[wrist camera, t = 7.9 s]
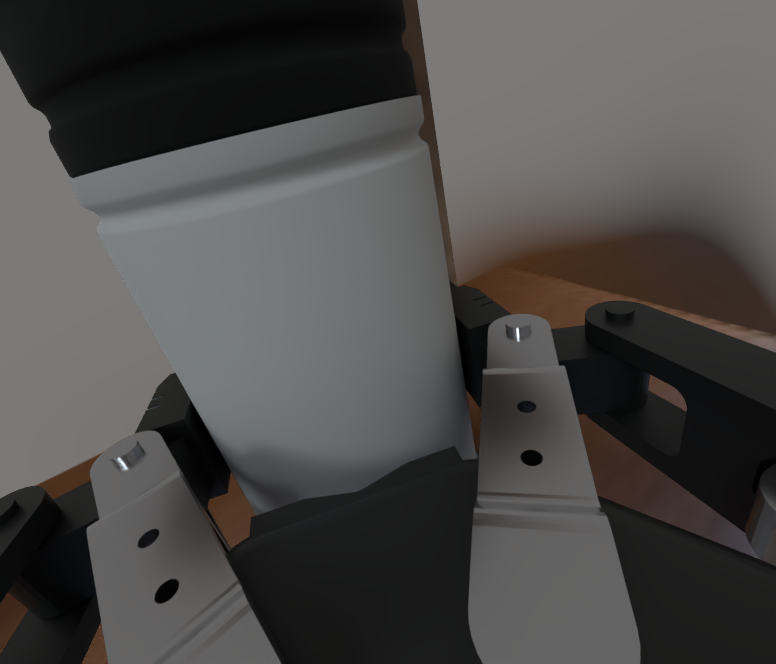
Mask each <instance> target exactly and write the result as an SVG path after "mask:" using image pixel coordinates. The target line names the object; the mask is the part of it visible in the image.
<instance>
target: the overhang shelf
mask: <svg viewBox="0 0 776 664" xmlns="http://www.w3.org/2000/svg"><path fill="white" fill-rule="evenodd" d="M403 5H404V12H405V18H406V29H405V31H404V33H403V35H402V42H403V48H404V50H405V51H408V52H409V55H410V57H411V59H412V63H413V69H414V76H415V82H416V88H417V95H420V96H421V100H422V107H423V113H424V122H423V124H422V126H421V127H420V129H419V134H418V135H419V137H420V138H421V140H423V141H425V142H426V143H427V144H428V146H429V152H430V159H431V165H432V172H433V178H434V185H435V191H436V198H437V204H438V211H439V217H440V224H441V230H442V237H443V243H444V250H445V256H446V263H447V270H448V276H449V280H450V281H451V282H452V283H453V284H455V285H456V286H457V281H456V274H455V266H454V259H453V252H452V246H451V239H450V231H449V224H448V217H447V210H446V203H445V196H444V188H443V182H442V174H441V167H440V160H439V153H438V146H437V139H436V132H435V125H434V117H433V110H432V103H431V97H430V89H429V82H428V75H427V67H426V61H425V53H424V47H423V39H422V32H421V25H420V19H419V11H418V4H417V0H403ZM417 95H416V96H417Z"/></svg>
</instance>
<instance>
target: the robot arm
mask: <svg viewBox="0 0 776 664" xmlns="http://www.w3.org/2000/svg"><path fill="white" fill-rule="evenodd" d="M449 283H450V289H451V296H452V302H453V309H454V315H455V322H456V328H457V335H458V341H459V348H460V354H461V361H462V367H463V374H464V380H465V387H466V390H467V391H468V392H469V394H470V395H471V396H472V398H473V399H474V400H475V402H476V403H477V404H478V406H479V407H481V426H480V448H479V459H467V460H463V459H462V458H461V456H460V454H459V452H458V451H457V449H456V447H455V446H452V447H449V448H447V449H444V450H441V451H438V452H435V453H432V454H430V455H427V456H424V457H421V458H418V459H415V460H413V461H410V462H407V463H405V464H404V465H402V466H400V467H399V468H397V469H395V470H394V471H392V472H390V473H389V474H387V475H385V476H384V477H382V478H380V479H379V480H377V481H375V482H374V483H372V484H370V485H369V486H367V487H365V488H364V489H362V490H360V491H357V492H352V493H344V494H337V495H330V496H322V497H315V498H307V499H302V500H299V501H296V502H294V503H291V504H288V505H285V506H282V507H279V508H277V509H274V510H271V511H268V512H265V513H262V514H260V515H257V516H254V517H251V525H250V537H248V538H247V539H245V540H243V541H242V542H240V543H239V544H238V545H236V546H235V547H233V548H232V549H231V547H230V545H229V543H228V542H227V540H226V538H225V536H224V535H223V533H222V531H221V530H220V528H219V526H218V524H217V523H216V521H215V519H214V517H213V516H212V514H211V513H210V511H209V510H208V503H209V499H211V498H214V497H217V496H220V495H223V494H226V493H228V486H229V479H230V473H231V470H230V469H229V467H228V465H227V463H226V461H225V460H224V458H223V456H222V454H221V453H220V451H219V449H218V447H217V445H216V444H215V442H214V440H213V438H212V437H211V435H210V433H209V431H208V429H207V428H206V426H205V424H204V422H203V421H202V419H201V417H200V415H199V413H198V412H197V410H196V408H195V406H194V405H193V403H192V401H191V399H190V397H189V396H188V394H187V392H186V390H185V389H184V387H183V385H182V383H181V381H180V380H179V378H178V376H177V374H176V373H173V374H170V375H169V376H168V377H167V378H166V379H165V380H164V381H163V382H162V383H161V384H160V385H159V386H158V387H157V389H156V392H155V394H154V396H153V398H152V399H153V400H152V401H151V402H150V404H149V406H148V410H146V412H145V414H144V416H143V418H142V420H141V422H140V424H139V426H138V428H137V430H136V432H135V434H133V435H131V436H129V437H126V438H124V439H122V440H120V441H119V442H117V443H115V444H114V445H112V446H111V447H110V448H108V449H107V450H106V451H105V452H104V453H102V454H101V455H100V456H99V457H98V459H97V460H96V461H95V462H94V464H93V465H92V467H91V470H90V478H91V481H89V482H87V483H85V484H83V485H81V486H79V487H77V488H75V489H74V490H72V491H70V492H68V493H66V494H64V495H62V496H60V497H58V498H56V499H54V500H53V499H52V498H51V497H50V496H49V495H48V493H47V492H46V491H45V490H44V489H43V488H42V487H39V486H31V487H26V488H23V489H20V490H17V491H15V492H12V493H10V494H8V495H6V496H4V497H2V498H0V603H1V601H2V600H3V598H4V597H5V595H6V594H7V593H8V592H9V593H10V594H11V595H12V596H13V597H15V598H16V599H17V600H18V601H19V602H20V603H22V604H23V605H24V606H25V607H26V608H27V609H29V610H28V612H27V613H26V615H25V616H24V618H23V620H22V621H21V623H20V624H19V626H18V628H17V629H16V631H15V632H14V634H13V636H12V637H11V639H10V640H9V642H8V644H7V645H6V647H5V648H4V650H3V652H2V653H1V655H0V664H82V661H83V659H84V657H85V655H86V653H87V651H88V649H89V646H90V644H91V642H92V640H93V638H94V636H95V633H96V631H97V629H98V627H99V625H100V623H102V629H103V635H104V641H105V647H106V652H107V658H108V664H776V353H775V352H772V351H769V350H767V349H764V348H761V347H758V346H756V345H753V344H750V343H748V342H745V341H742V340H739V339H737V338H734V337H731V336H728V335H726V334H723V333H720V332H717V331H715V330H712V329H709V328H706V327H704V326H701V325H698V324H695V323H693V322H690V321H687V320H684V319H682V318H679V317H676V316H673V315H671V314H668V313H665V312H662V311H660V310H657V309H654V308H651V307H649V306H646V305H643V304H640V303H636V302H630V301H608V302H603V303H599V304H596V305H594V306H592V307H590V308H589V309H588V310H587V311H586V313H585V325H584V326H576V327H568V328H560V329H551V328H550V325H549V323H548V322H547V321H546V320H545V319H543V318H541V317H539V316H536V315H530V314H514V315H512V314H510V313H509V312H508V311H506V310H505V309H504V308H502V307H501V306H500V305H498V304H497V303H496V302H493V300H492V299H490V298H489V297H487V296H486V295H485V294H484V293H482V292H481V291H480V290H478V289H475V288H471V287H468V286H461V287H457V286H456V285H455V284H453V283H452V282H451V281H450V280H449ZM650 375H652V376H654V377H656V378H658V379H660V380H662V381H664V382H666V383H668V384H670V385H671V386H673V387H674V388H676V389H677V390H678V391H679V392H680V393H681V395H682V396H683V397H684V399H685V401H686V405H687V412H685V411H684V410H682V409H680V408H678V407H677V406H675V405H673V404H671V403H670V402H668V401H666V400H664V399H662V398H661V397H659V396H657V395H655V394H654V393H652V392H650V391H648V386H649V378H650ZM578 414H586V415H587V417H588V418H590V419H591V420H592V421H593V422H595V423H596V424H597V425H599V426H600V427H601V428H603V429H604V430H606V431H607V432H608V433H610V434H611V435H612V436H614V437H615V438H616V439H618V440H619V441H621V442H622V443H623V444H625V445H626V446H627V447H629V448H630V449H631V450H633V451H634V452H636V453H637V454H638V455H640V456H641V457H642V458H644V459H645V460H646V461H648V462H649V463H651V464H652V465H653V466H655V467H656V468H657V469H659V470H660V471H661V472H663V473H664V474H666V475H667V476H668V477H670V478H671V479H672V480H674V481H675V482H676V483H678V484H679V485H681V486H682V487H683V488H685V489H686V490H687V491H689V492H690V493H691V494H693V495H694V496H696V497H697V498H698V499H700V500H701V501H702V502H704V503H705V504H706V505H708V506H709V507H711V508H712V509H713V510H715V511H716V512H717V513H719V514H720V515H721V516H723V517H724V518H726V519H727V520H728V521H730V522H731V523H732V524H734V525H735V526H736V527H738V528H739V529H741V530H742V531H743V532H745V533H746V536H747V539H748V541H749V543H750V545H751V547H752V548H753V549H754V551H755V552H756V553H757V555H758V556H759V557H760V558H761V559H762V560H763V561H762V560H760V559H757V558H755V557H752V556H750V555H747V554H745V553H742V552H739V551H737V550H734V549H732V548H729V547H727V546H724V545H722V544H719V543H717V542H714V541H712V540H709V539H706V538H704V537H701V536H699V535H696V534H694V533H691V532H689V531H686V530H684V529H681V528H678V527H676V526H673V525H671V524H668V523H666V522H663V521H661V520H658V519H656V518H653V517H651V516H648V515H646V514H643V513H640V512H638V511H635V510H633V509H630V508H628V507H625V506H623V505H620V504H618V503H615V502H613V501H610V500H607V499H605V498H602V497H600V496H597V493H596V489H595V485H594V481H593V476H592V472H591V468H590V464H589V460H588V456H587V452H586V448H585V444H584V440H583V436H582V432H581V428H580V424H579V420H578V416H577V415H578Z"/></svg>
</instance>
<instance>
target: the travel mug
mask: <svg viewBox="0 0 776 664" xmlns="http://www.w3.org/2000/svg"><path fill="white" fill-rule="evenodd" d="M405 29H406V18H405V12H404V5H403V0H0V51H1V53H2V55H3V57H4V58H5V60H6V62H7V64H8V66H9V68H10V69H11V71H12V73H13V75H14V77H15V79H16V81H17V83H18V84H19V86H20V88H21V90H22V92H23V94H24V95H25V97H26V99H27V101H28V103H29V104H30V105H31V106H32V107H33V108H35V109H37V110H39V111H41V112H42V113H43V114H44V115H45V116H46V117H47V119H48V121H49V123H50V125H51V129H50V131H49V137H50V142H51V144H52V146H53V148H54V149H55V151H56V153H57V155H58V156H59V158H60V160H61V162H62V164H63V165H64V167H65V169H66V170H67V173H68V174H69V176H70V177H72V178H73V179H70V180H68V183H69V184H70V186H71V188H72V190H73V191H74V193H75V195H76V197H77V199H78V200H79V202H80V203H81V205H82V206H83V207H84V208H87V209H89V210H91V211H93V212H95V213H96V214H97V215H98V216H100V224H99V226H98V228H97V234H98V236H99V238H100V239H101V241H102V243H103V245H104V246H105V248H106V250H107V252H108V254H109V255H110V257H111V259H112V261H113V262H114V264H115V266H116V268H117V270H118V271H119V273H120V275H121V277H122V278H123V280H124V282H125V284H126V286H127V287H128V289H129V291H130V293H131V294H132V296H133V298H134V300H135V301H136V303H137V305H138V307H139V309H140V310H141V312H142V314H143V316H144V318H145V319H146V321H147V323H148V324H149V326H150V328H151V330H152V332H153V333H154V335H155V337H156V339H157V341H158V342H159V344H160V346H161V348H162V350H163V351H164V353H165V355H166V357H167V358H168V360H169V362H170V363H171V365H172V367H173V369H174V371H175V373H176V374H177V376H178V378H179V380H180V381H181V383H182V385H183V387H184V389H185V390H186V392H187V394H188V396H189V397H190V399H191V401H192V403H193V405H194V406H195V408H196V410H197V412H198V413H199V415H200V417H201V419H202V421H203V422H204V424H205V426H206V428H207V429H208V431H209V433H210V435H211V437H212V438H213V440H214V442H215V444H216V445H217V447H218V449H219V451H220V453H221V454H222V456H223V458H224V460H225V461H226V463H227V465H228V467H229V469H230V470H231V472H232V474H233V476H234V477H235V479H236V481H237V483H238V485H239V486H240V488H241V490H242V492H243V493H244V495H245V497H246V499H247V500H248V502H249V504H250V506H251V508H252V509H253V511H254V513H255V515H256V516H257V515H260V514H262V513H265V512H268V511H271V510H274V509H277V508H279V507H282V506H285V505H288V504H291V503H294V502H296V501H299V500H302V499H307V498H315V497H322V496H330V495H337V494H344V493H352V492H357V491H360V490H362V489H364V488H365V487H367V486H369V485H370V484H372V483H374V482H375V481H377V480H379V479H380V478H382V477H384V476H385V475H387V474H389V473H390V472H392V471H394V470H395V469H397V468H399V467H400V466H402V465H404V464H405V463H407V462H410V461H413V460H415V459H418V458H421V457H424V456H427V455H430V454H432V453H435V452H438V451H441V450H444V449H447V448H449V447H452V446H455V447H456V449H457V451H458V452H459V454H460V456H461V458H462V459H463V460H467V459H477V458H476V452H475V445H474V439H473V432H472V426H471V419H470V413H469V406H468V400H467V393H466V387H465V380H464V374H463V367H462V361H461V354H460V348H459V341H458V335H457V328H456V322H455V315H454V309H453V302H452V296H451V289H450V283H449V276H448V270H447V263H446V256H445V250H444V243H443V237H442V230H441V224H440V217H439V211H438V204H437V198H436V191H435V185H434V178H433V172H432V165H431V159H430V152H429V146H428V144H427V143H426V142H425V141H423V140H421V138H420V137H419V135H418V134H419V129H420V127H421V126H422V124H423V122H424V113H423V107H422V100H421V96H420V95H417V88H416V82H415V76H414V69H413V63H412V59H411V57H410V55H409V52H408V51H405V50H404V48H403V42H402V35H403V33H404V31H405ZM416 95H417V96H416Z"/></svg>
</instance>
